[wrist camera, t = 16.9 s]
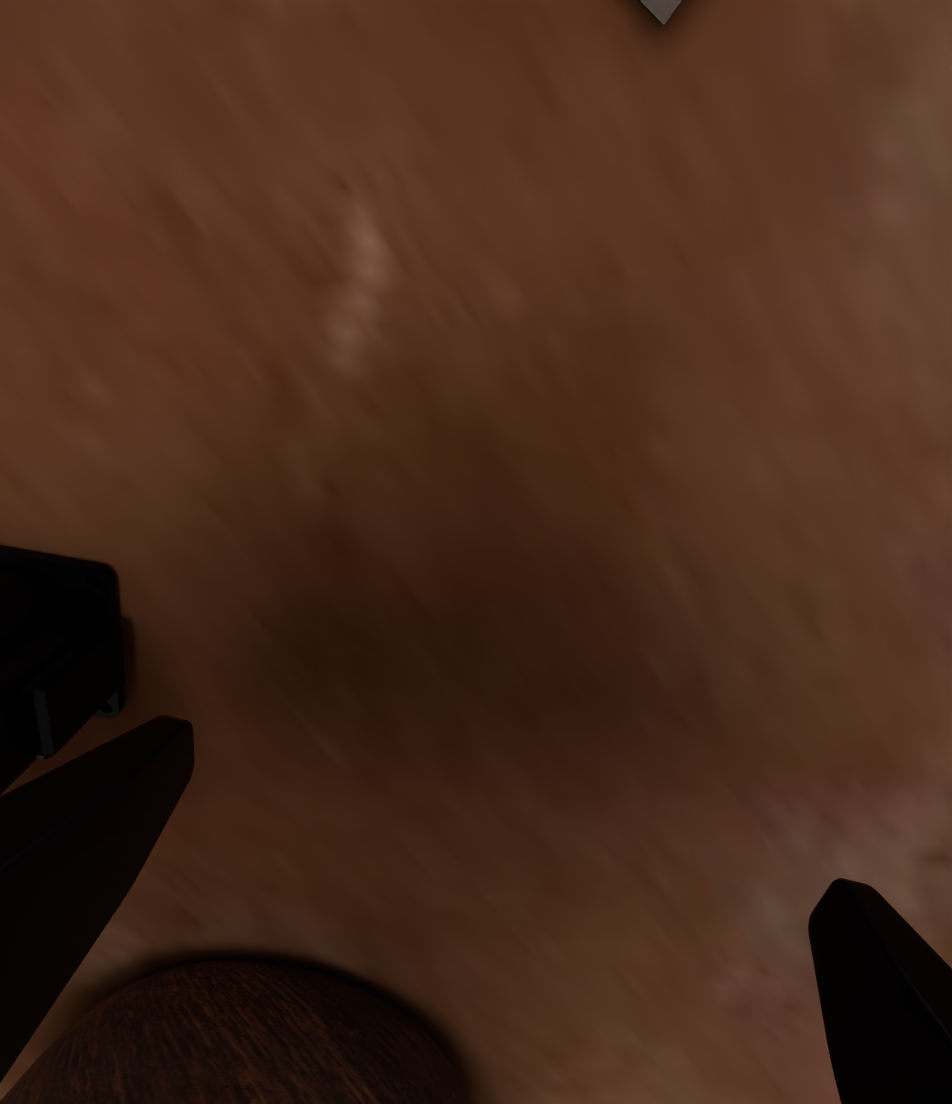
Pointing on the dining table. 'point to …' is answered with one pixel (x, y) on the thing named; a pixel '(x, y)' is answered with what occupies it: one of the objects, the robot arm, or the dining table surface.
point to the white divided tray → (661, 8)
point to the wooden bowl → (241, 1044)
